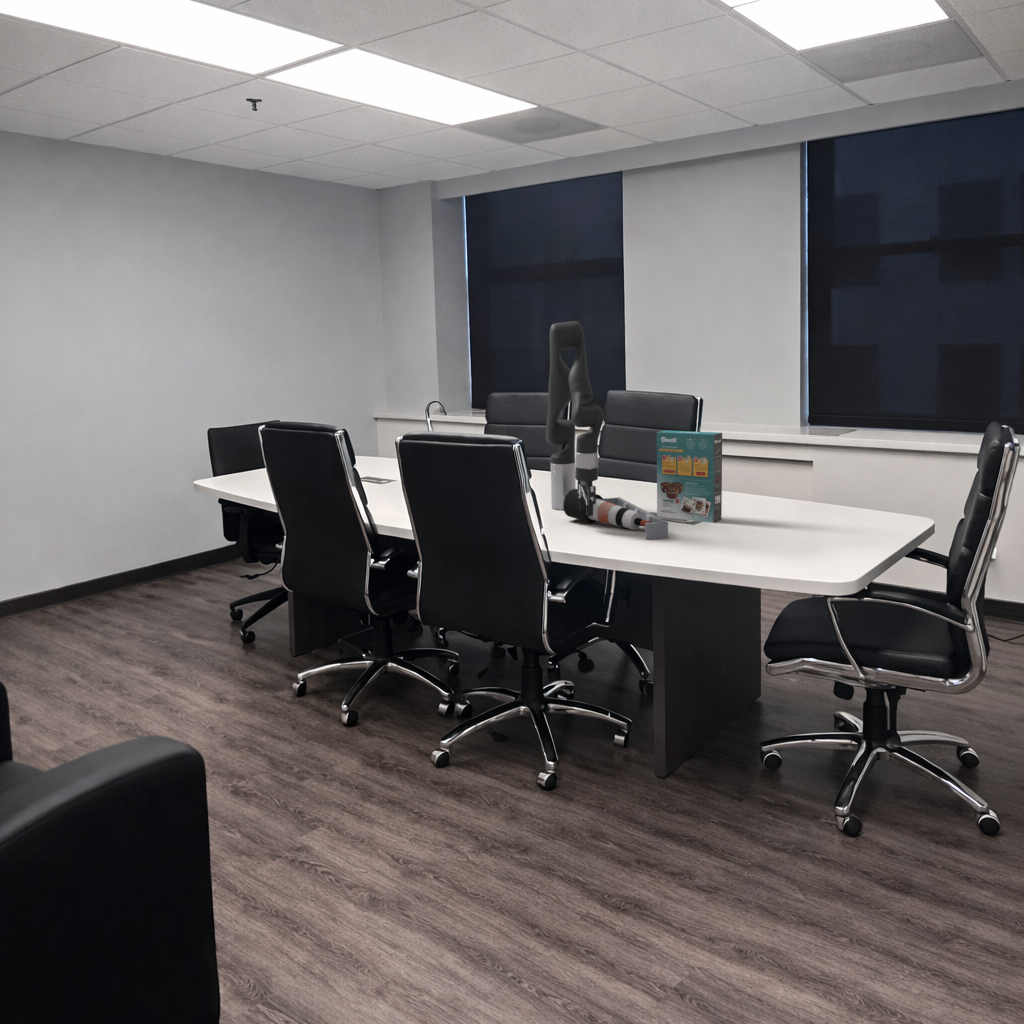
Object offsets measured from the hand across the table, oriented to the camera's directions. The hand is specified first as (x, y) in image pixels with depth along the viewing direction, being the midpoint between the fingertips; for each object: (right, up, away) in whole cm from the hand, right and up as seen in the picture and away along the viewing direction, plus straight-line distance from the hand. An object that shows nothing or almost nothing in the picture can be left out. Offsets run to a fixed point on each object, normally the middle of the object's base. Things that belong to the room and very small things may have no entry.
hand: (586, 513), depth 311 cm
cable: (+8, -4, +3) cm, 10 cm away
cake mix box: (+37, -2, +11) cm, 39 cm away
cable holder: (+16, -4, +4) cm, 17 cm away
